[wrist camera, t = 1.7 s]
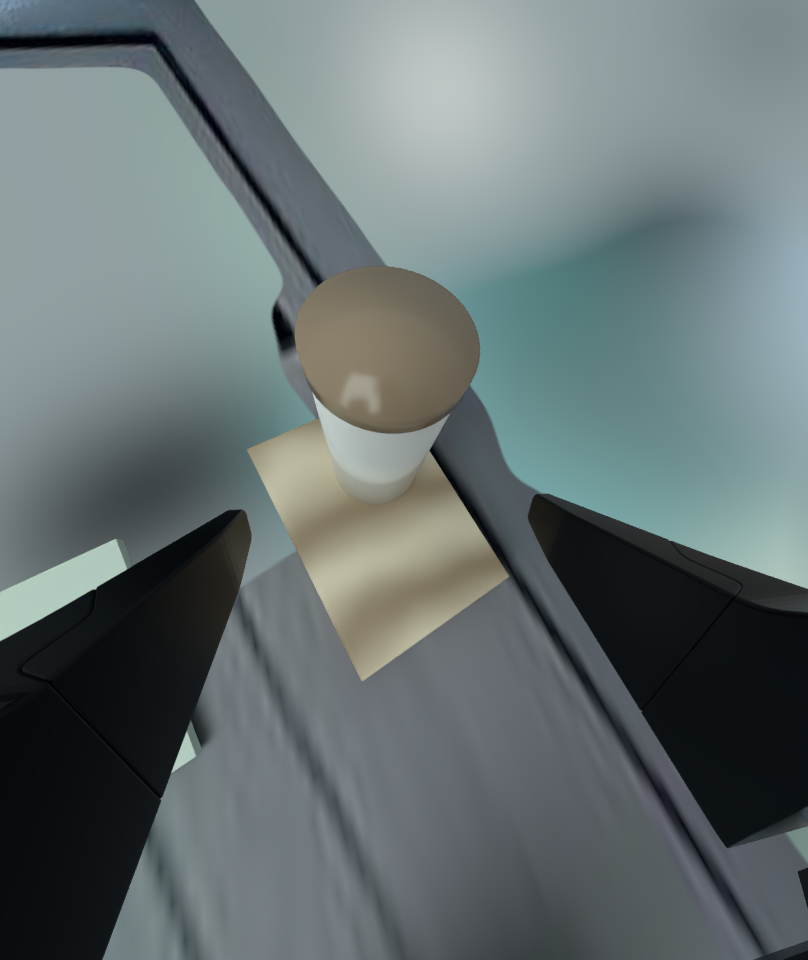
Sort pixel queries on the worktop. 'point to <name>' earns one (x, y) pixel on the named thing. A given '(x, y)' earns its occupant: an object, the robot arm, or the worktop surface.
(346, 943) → the worktop surface
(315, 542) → the board
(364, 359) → the jar
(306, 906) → the worktop surface
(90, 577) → the mat
